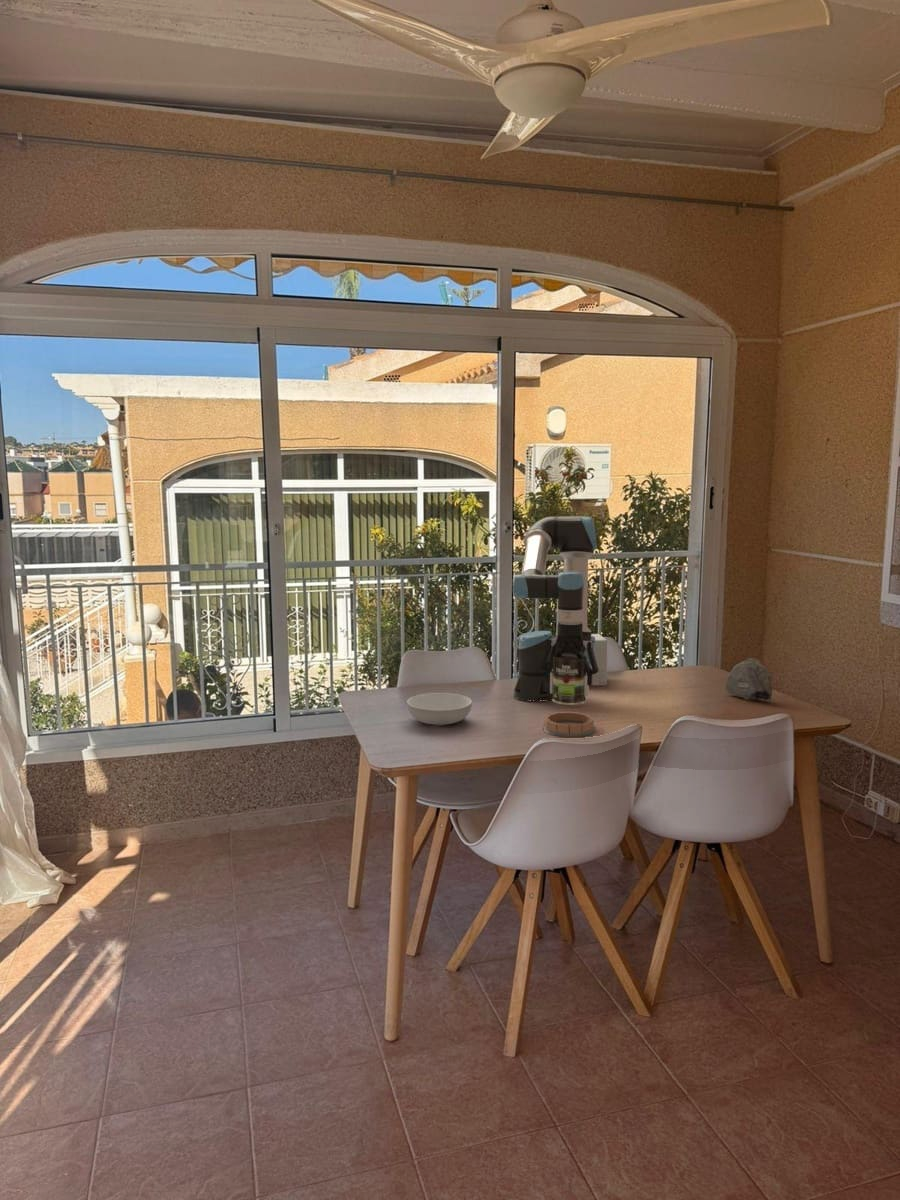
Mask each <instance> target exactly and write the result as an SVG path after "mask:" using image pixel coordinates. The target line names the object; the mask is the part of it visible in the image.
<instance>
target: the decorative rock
mask: <svg viewBox="0 0 900 1200" xmlns="http://www.w3.org/2000/svg"><path fill="white" fill-rule="evenodd" d="M772 685H773V681H772V678H771V675H770V674H769V672H768V670H767V668H766V667H765V666H764V665H763V663H762V662H761V661H760V660H758V659H756V658H755V657H749V658H747V659H746V660H744V661H743V660H742V661H740V662H739V663H737V664H735V665H734V666H733V668H732V669H731V671H730V672H729V673H728V674H727V679H726V681H725V687H724V688H725V692H726V693H728V694H731V695H734V696H735V697H740V698H742V699H744V700H745V699H746V700H747V701H756V700H759V699H760V700H763V701H764V700H765V701H767V700H771V699H772V694H773V693H772V692H773V686H772ZM746 700H745V701H746Z"/></svg>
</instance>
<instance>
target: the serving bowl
mask: <svg viewBox="0 0 900 1200" xmlns="http://www.w3.org/2000/svg"><path fill="white" fill-rule="evenodd" d="M472 704H473V700H472V699H471V698H470V697H468V696H465V695H462V694H458V693H450V692H430V693H420V694H417V695H414V696H411V697H409V698H408V699H407V700H406V705H407V710H408V712H409V714H410V716H411V717H412V718H414V719H415V720H416V721H418V722H420V723H424V724H427V725H431V724H434V725H433V726H446V725H445V724H447V725H452V724H455V723H458V722H461V721H463V720H464V719H465V718H466V717H467V716H468V715H469V714H470V712H471V709H472Z"/></svg>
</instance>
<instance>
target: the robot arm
mask: <svg viewBox="0 0 900 1200" xmlns="http://www.w3.org/2000/svg"><path fill="white" fill-rule="evenodd" d="M523 545H524V547H525V552H524V557H523V564H522V569H521V573H520V574H515V575H514V576H513V579H512V594H513V597H514V598H517V599H525V600H527V599H546V600H548V599H549V600H550V599H551V600H552V599H553V600H556V599H557V602H558V603H557V622H558V623H557V635H553V632H552V631H551V630H535V631H530V632H527V633H523V634H521V635H520V637H519V639H518V647H517V649H518V676H517V679H516V682H515V685H514V688H513V697H514V696H515V697H517V698H519V699H523V700H531V701H530V702H532V701H533V700H534V701H540V700H542V701H540V702H544V701H543V700H549V701H551V699H553V655H555V654H556V655H555V656H556V657H560V656H561V655H562V653H573V654H574V653H575V654H576V656H577V657H578V658H579V659H582V658H584V655H585V656H586V657H587V660H586V662H585V666H584V669H585V671H586V673H587V674H586V675H585V681H584V696H585V698H587V697H588V696H589V694H590V692H589V691H590V687H591V685H592V675H593V674H596V673H597V672H598V671H599V670H598V666H597V663H596V659H595V655H594V652H593V651H594V644H595V637H594V636H592V637H591V634H592V631H591V629H590V628H589V627H588V598H589V597H588V592H589V591H588V589H589V581H588V580H589V559H590V558H591V557H592V556H593V553H594V552H593V551H595V550H597V549H598V548H597V547H598V545H597V537H596V528H595V521H594V519H593V518H592V517H591V516H583V515H582V516H581V515H576V516H575V515H571V516H568V515H567V516H546V517H544V518H541V519H539V520H537V521H536V522H535V523H533V524H532V525H531V526H530V527H529V528H528V530H527V532H526V533H525V536H524V540H523ZM549 550H559V555H560V556H561V557H562V558H563V571H561V572H559V573H558V574H546V568H547V559H548V552H549ZM590 667H592V669H591V668H590ZM589 685H590V686H589ZM515 697H514V698H515ZM519 699H518V700H519ZM523 700H522V701H523Z"/></svg>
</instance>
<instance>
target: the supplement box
mask: <svg viewBox="0 0 900 1200" xmlns="http://www.w3.org/2000/svg"><path fill="white" fill-rule="evenodd" d="M592 636H594V637H595V644H594V651H593V652H594V655H595V659H596V663H597V666H598V670H599V671H598V672H597V673H596V674H593V675H592V685H593V686H606V685H608V684H607V681H608V680H607V679H608V678H607V677H608V676H607V672H608V671H607V670H608V666H607V665H608V639H606V638H605V637H603V636H602V635H601V634H600V633H591V637H592ZM590 668H591V669H592V667H590ZM586 674H587V673H586Z"/></svg>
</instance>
